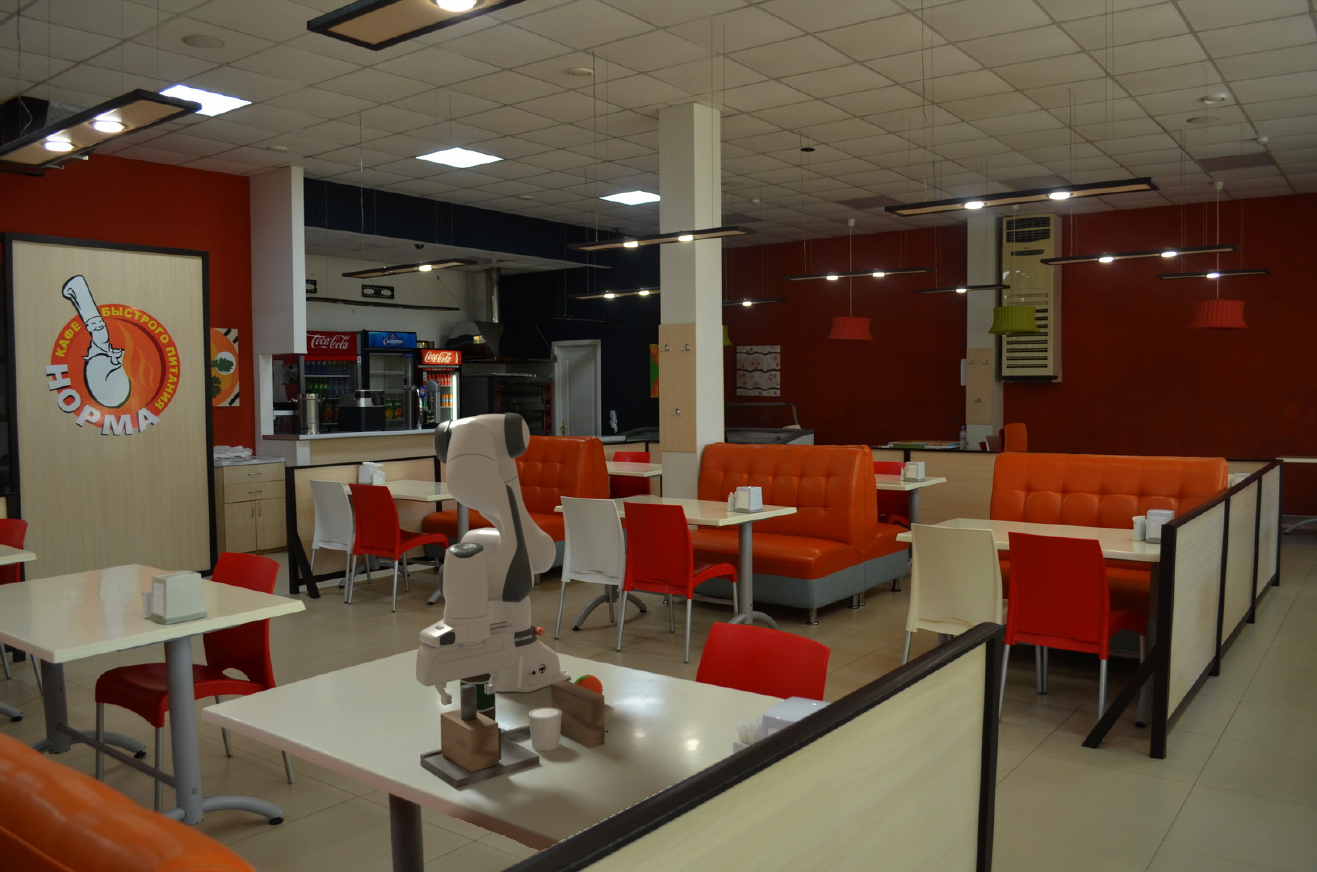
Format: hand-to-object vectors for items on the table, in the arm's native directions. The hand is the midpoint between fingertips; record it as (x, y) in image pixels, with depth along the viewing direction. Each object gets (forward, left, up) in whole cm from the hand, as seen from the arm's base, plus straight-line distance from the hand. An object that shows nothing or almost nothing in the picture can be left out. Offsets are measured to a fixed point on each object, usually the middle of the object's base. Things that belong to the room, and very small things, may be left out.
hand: (468, 698), depth 183 cm
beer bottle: (-12, -19, -14) cm, 27 cm away
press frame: (-10, 0, -14) cm, 17 cm away
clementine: (-38, -15, -14) cm, 44 cm away
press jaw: (0, 0, -12) cm, 12 cm away
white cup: (-17, 0, -14) cm, 22 cm away
